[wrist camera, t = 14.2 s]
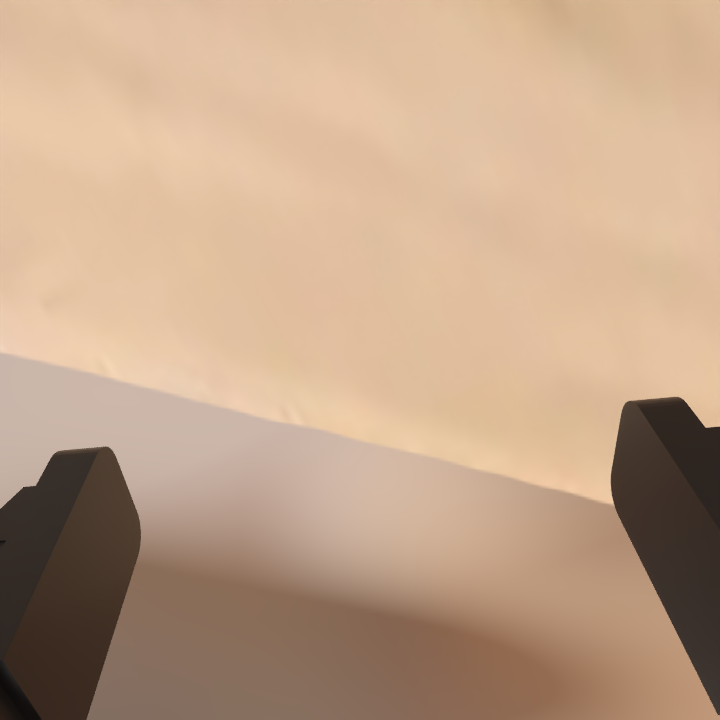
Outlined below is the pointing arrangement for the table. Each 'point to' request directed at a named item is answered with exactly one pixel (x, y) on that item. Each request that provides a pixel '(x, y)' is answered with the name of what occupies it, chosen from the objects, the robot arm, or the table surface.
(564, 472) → the table surface
